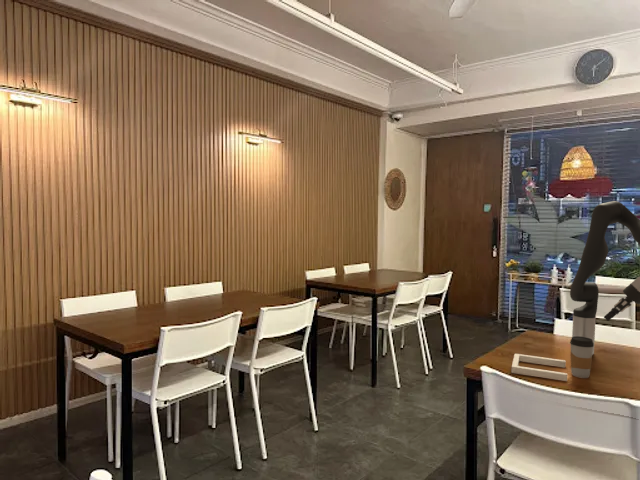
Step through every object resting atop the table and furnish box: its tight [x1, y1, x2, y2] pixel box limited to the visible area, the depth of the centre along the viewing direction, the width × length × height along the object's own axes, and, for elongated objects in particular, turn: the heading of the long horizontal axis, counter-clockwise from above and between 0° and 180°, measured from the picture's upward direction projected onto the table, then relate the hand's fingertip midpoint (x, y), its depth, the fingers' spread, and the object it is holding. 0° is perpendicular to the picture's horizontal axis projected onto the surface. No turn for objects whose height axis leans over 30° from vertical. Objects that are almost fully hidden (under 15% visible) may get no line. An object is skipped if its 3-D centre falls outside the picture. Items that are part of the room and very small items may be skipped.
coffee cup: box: [569, 336, 595, 379], centre depth 185 cm, size 8×8×15 cm
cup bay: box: [511, 353, 568, 382], centre depth 192 cm, size 20×20×2 cm
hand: (607, 317), depth 183 cm, fingers open, 8 cm apart
